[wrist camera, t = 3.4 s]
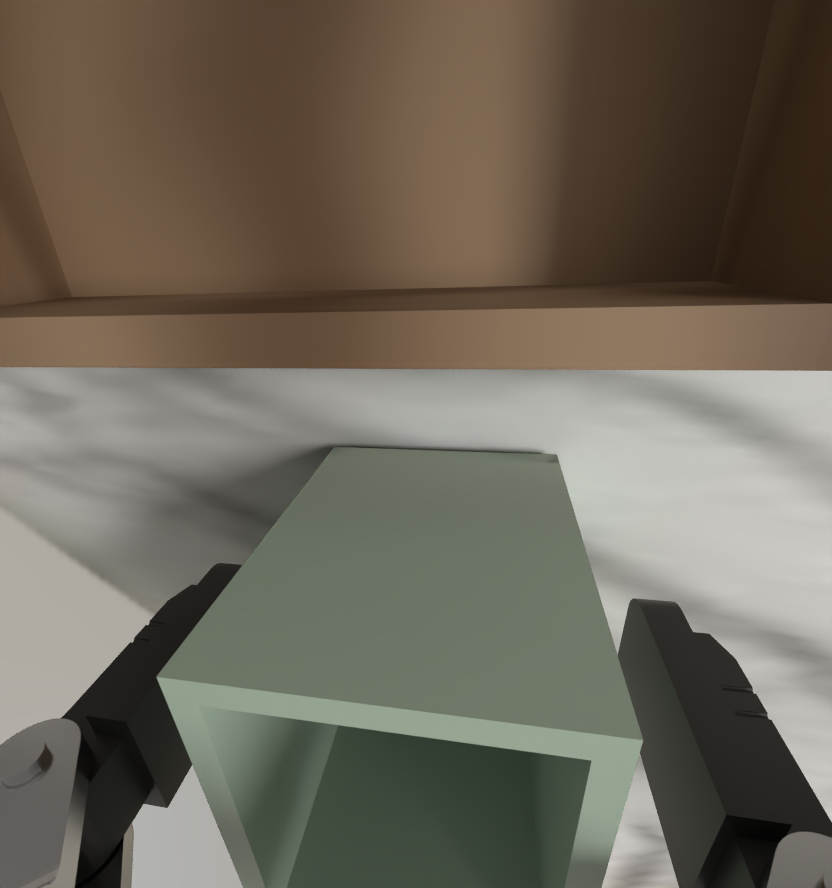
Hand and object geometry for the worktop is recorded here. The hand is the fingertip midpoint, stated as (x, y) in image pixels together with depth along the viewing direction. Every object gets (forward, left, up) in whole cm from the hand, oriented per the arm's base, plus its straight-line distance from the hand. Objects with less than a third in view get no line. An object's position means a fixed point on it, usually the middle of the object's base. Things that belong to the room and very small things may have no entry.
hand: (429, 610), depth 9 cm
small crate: (0, 0, -2) cm, 2 cm away
